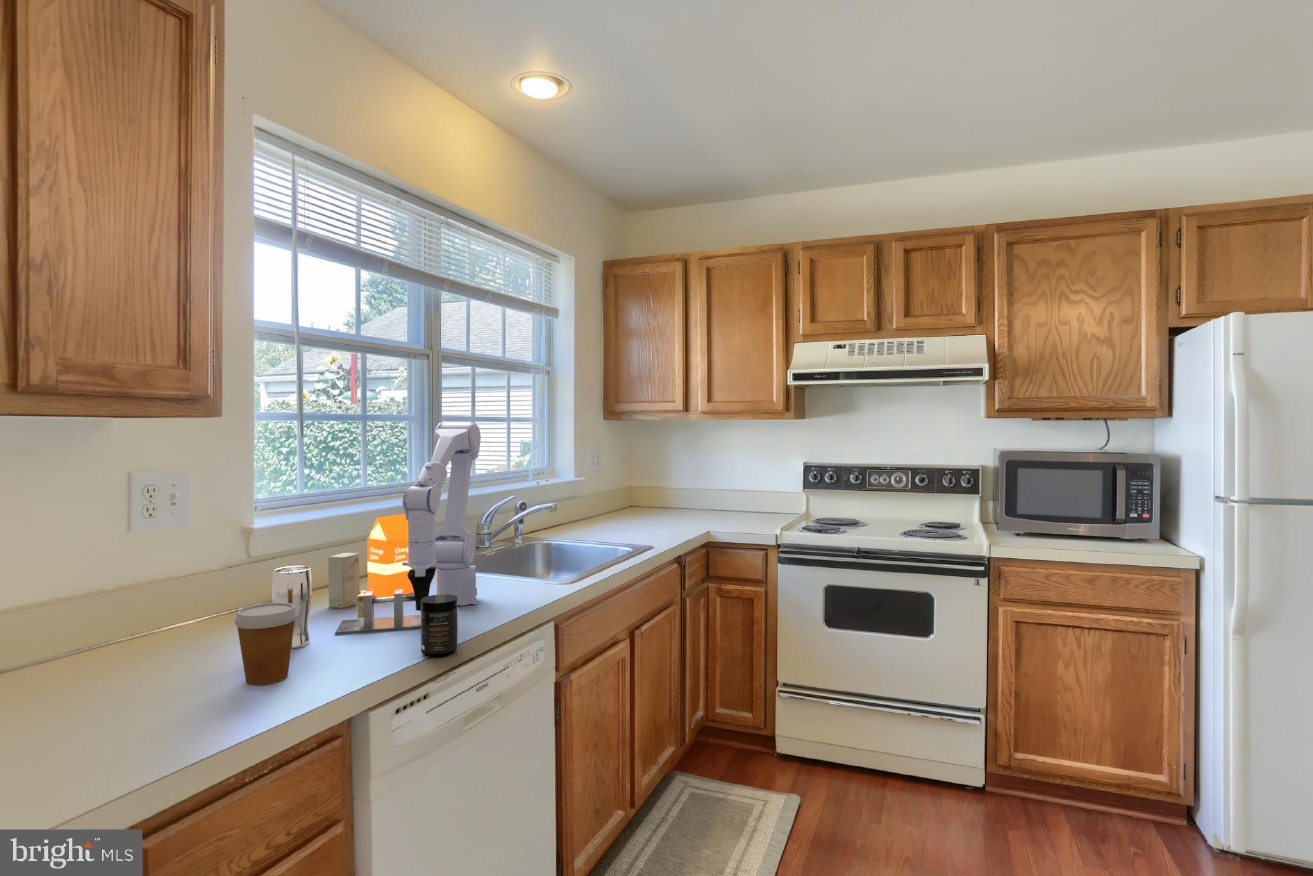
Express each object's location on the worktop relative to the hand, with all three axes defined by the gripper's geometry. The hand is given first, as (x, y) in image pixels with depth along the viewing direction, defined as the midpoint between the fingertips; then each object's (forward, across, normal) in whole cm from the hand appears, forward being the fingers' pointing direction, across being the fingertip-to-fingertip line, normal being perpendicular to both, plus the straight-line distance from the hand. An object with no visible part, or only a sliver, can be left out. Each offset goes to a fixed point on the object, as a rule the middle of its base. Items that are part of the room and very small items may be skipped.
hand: (422, 602), depth 152 cm
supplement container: (+5, +22, +4) cm, 23 cm away
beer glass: (+5, +9, -24) cm, 26 cm away
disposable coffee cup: (+5, +28, -24) cm, 37 cm away
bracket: (+4, 0, -8) cm, 9 cm away
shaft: (+1, 0, -6) cm, 7 cm away
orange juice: (+5, -30, -9) cm, 32 cm away
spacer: (-1, 0, -12) cm, 12 cm away
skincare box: (+5, -21, -19) cm, 29 cm away
